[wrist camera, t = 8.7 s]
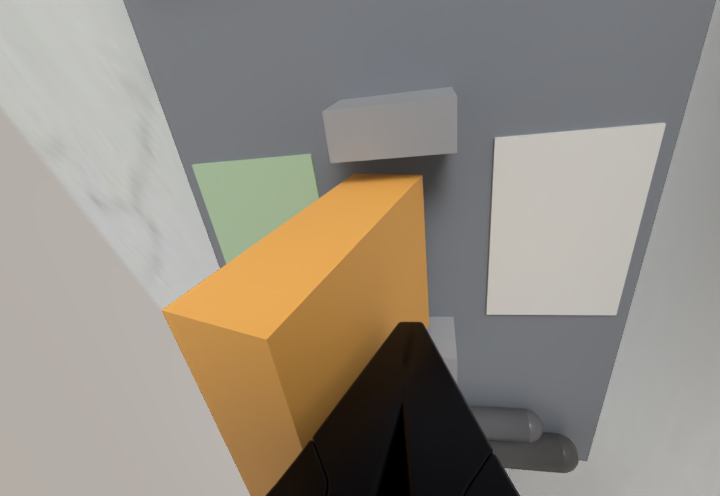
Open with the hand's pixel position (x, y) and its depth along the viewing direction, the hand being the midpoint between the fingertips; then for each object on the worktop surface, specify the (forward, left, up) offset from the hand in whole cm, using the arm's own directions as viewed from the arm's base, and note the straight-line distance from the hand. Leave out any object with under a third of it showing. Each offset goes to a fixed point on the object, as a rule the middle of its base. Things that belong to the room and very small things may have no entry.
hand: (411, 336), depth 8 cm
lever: (0, 0, -4) cm, 4 cm away
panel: (0, 0, -7) cm, 7 cm away
